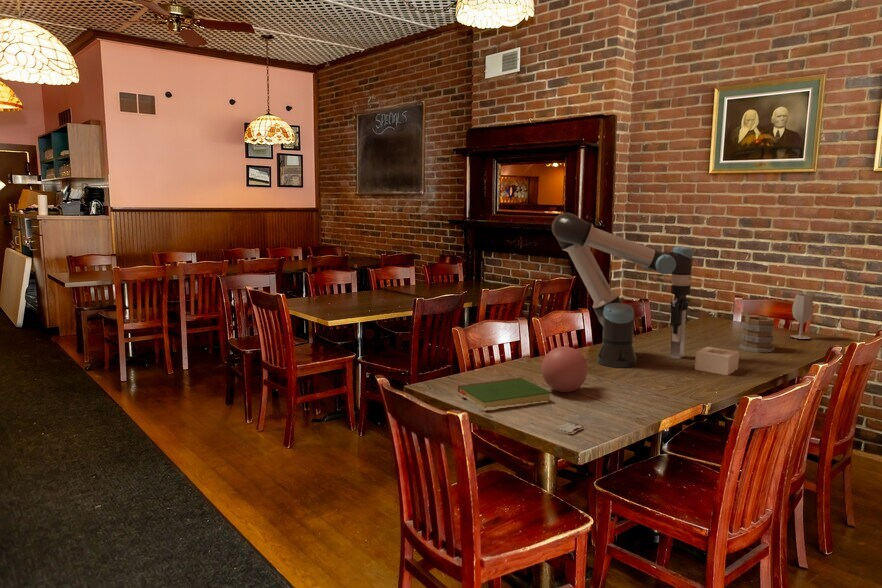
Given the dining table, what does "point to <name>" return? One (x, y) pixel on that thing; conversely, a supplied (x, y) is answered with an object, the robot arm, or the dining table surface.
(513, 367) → the dining table surface
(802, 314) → the wineglass
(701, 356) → the well block
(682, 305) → the robot arm
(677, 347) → the steel bar
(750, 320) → the tankard
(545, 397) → the hardcover book
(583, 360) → the matte pink sphere
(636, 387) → the dining table surface
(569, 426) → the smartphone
